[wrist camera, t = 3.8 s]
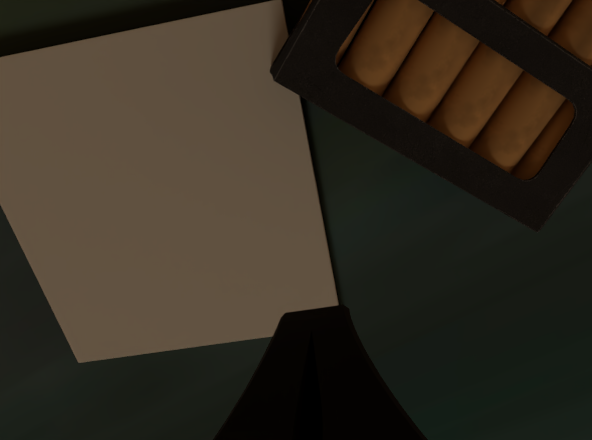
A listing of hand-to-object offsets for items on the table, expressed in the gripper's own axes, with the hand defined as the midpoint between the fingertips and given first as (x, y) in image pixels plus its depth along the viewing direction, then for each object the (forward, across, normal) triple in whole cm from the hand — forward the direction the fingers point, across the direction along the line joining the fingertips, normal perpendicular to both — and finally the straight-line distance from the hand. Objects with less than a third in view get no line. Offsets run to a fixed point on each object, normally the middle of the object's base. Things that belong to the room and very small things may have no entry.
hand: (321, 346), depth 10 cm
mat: (+9, +6, 0) cm, 11 cm away
